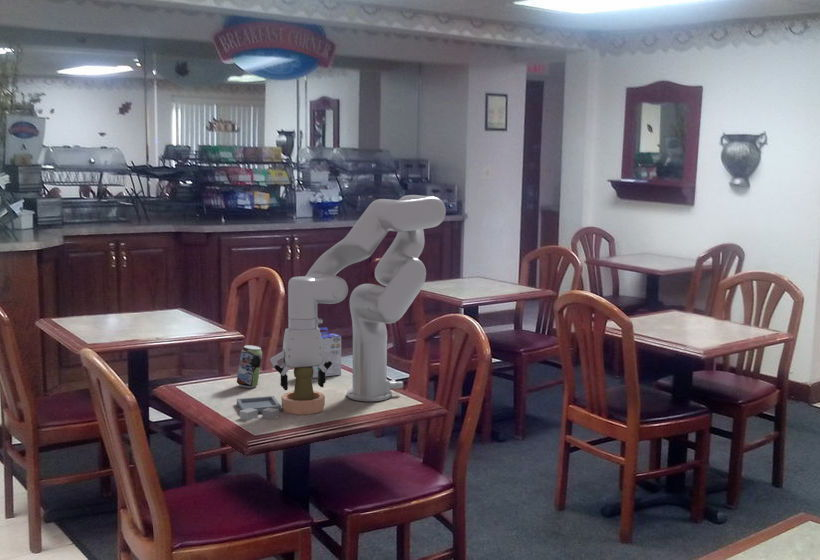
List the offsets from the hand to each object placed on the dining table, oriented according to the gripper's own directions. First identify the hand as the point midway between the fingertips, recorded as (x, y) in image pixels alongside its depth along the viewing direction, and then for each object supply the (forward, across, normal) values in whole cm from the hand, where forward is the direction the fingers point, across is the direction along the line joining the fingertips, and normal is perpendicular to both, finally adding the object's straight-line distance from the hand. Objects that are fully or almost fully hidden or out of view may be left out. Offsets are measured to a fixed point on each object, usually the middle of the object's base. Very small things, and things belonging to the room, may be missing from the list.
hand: (303, 387), depth 229 cm
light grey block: (+6, +15, +4) cm, 17 cm away
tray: (+6, +11, -4) cm, 13 cm away
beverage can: (+6, +10, -26) cm, 29 cm away
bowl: (+6, 0, 0) cm, 6 cm away
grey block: (+6, +10, +4) cm, 12 cm away
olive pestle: (+5, 0, 0) cm, 5 cm away
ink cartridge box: (+6, -14, -34) cm, 37 cm away
